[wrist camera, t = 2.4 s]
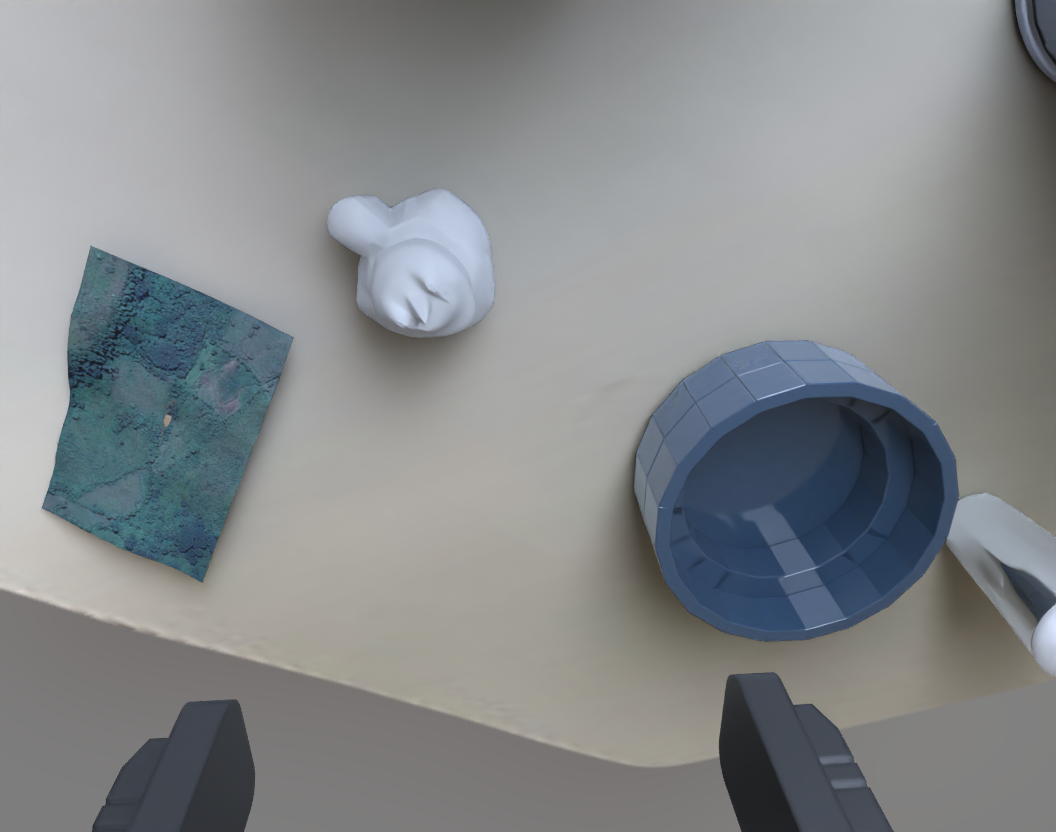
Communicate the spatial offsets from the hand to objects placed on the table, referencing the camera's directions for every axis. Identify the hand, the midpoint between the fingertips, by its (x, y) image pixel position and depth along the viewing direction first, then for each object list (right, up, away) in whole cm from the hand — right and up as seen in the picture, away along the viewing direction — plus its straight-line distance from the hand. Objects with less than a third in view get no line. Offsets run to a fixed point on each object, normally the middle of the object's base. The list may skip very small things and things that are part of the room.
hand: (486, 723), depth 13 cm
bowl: (+11, +3, +22) cm, 25 cm away
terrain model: (-15, +5, +20) cm, 25 cm away
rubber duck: (-4, +12, +17) cm, 21 cm away
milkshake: (+22, 0, +25) cm, 33 cm away
